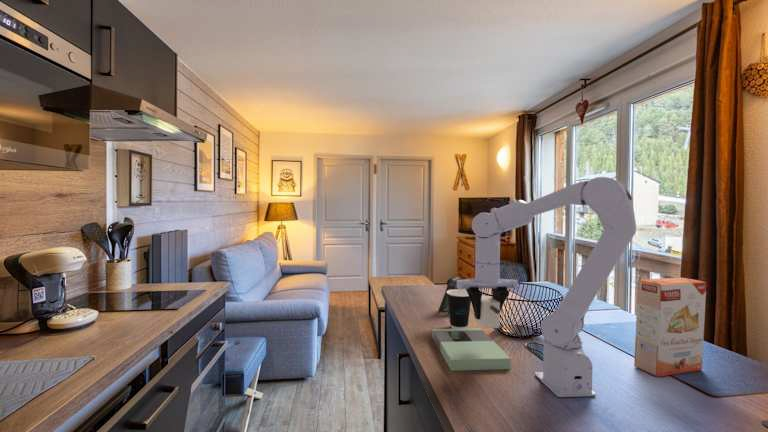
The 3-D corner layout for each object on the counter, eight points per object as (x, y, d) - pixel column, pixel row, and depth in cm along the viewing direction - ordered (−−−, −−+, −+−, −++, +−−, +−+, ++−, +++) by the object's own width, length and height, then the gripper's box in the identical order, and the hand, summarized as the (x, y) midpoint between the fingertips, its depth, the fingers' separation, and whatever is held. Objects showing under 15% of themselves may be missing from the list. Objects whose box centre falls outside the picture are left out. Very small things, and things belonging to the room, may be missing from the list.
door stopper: (438, 310, 125) (438, 277, 125) (445, 306, 130) (445, 275, 130) (462, 315, 120) (463, 280, 120) (468, 311, 125) (468, 277, 125)
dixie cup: (456, 321, 114) (457, 288, 113) (477, 328, 107) (477, 292, 107) (440, 326, 108) (441, 291, 108) (461, 333, 102) (461, 296, 102)
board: (510, 369, 80) (510, 358, 80) (451, 370, 79) (451, 359, 79) (480, 336, 100) (480, 328, 100) (432, 337, 99) (432, 328, 99)
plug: (505, 333, 78) (506, 306, 78) (488, 333, 78) (488, 307, 78) (488, 318, 89) (488, 295, 89) (473, 318, 89) (473, 295, 88)
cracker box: (659, 379, 76) (662, 284, 76) (632, 366, 82) (635, 278, 81) (705, 371, 80) (708, 281, 79) (676, 360, 86) (679, 276, 85)
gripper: (509, 259, 89) (508, 312, 89) (453, 259, 88) (452, 313, 88) (522, 264, 82) (521, 321, 82) (461, 264, 81) (461, 322, 81)
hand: (486, 318), depth 85 cm, fingers closed on plug, 4 cm apart
